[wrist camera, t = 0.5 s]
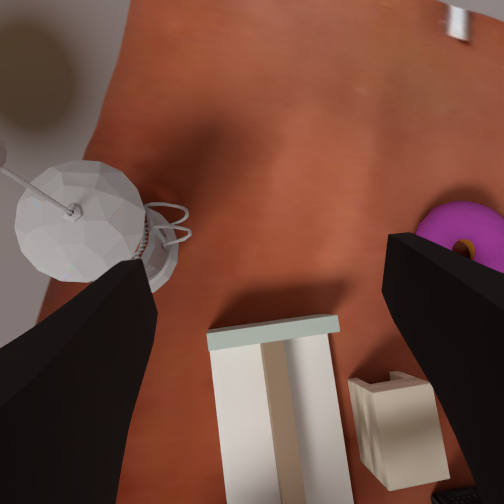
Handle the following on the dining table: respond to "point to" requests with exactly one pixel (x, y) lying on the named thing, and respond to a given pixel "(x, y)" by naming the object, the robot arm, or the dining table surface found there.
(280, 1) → the dining table surface
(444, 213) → the donut
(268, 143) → the dining table surface
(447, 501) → the portable radio
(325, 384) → the board
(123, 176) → the french press
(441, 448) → the saddle block
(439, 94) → the dining table surface
